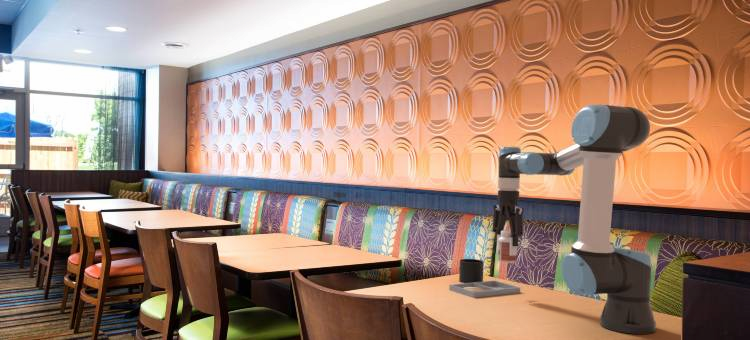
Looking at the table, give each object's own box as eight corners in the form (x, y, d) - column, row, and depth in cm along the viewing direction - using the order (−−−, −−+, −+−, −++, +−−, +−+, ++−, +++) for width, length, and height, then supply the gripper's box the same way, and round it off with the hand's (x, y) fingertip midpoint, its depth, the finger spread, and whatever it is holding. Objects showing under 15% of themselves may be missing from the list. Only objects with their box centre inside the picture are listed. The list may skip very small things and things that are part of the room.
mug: (468, 279, 244) (468, 257, 244) (487, 284, 234) (488, 261, 234) (450, 280, 239) (450, 258, 239) (469, 286, 229) (470, 263, 229)
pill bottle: (519, 262, 211) (520, 231, 211) (507, 264, 208) (508, 232, 207) (506, 259, 216) (507, 229, 216) (494, 261, 213) (495, 230, 212)
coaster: (488, 293, 214) (488, 290, 214) (471, 295, 210) (471, 292, 210) (474, 289, 220) (474, 286, 220) (458, 291, 217) (458, 287, 217)
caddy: (520, 294, 217) (520, 287, 217) (473, 299, 206) (473, 292, 206) (494, 286, 229) (494, 280, 229) (449, 291, 218) (449, 284, 218)
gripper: (535, 191, 205) (533, 257, 205) (499, 188, 221) (497, 249, 222) (518, 191, 201) (516, 258, 201) (483, 188, 218) (481, 250, 218)
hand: (506, 253), depth 212 cm, fingers closed on pill bottle, 6 cm apart
